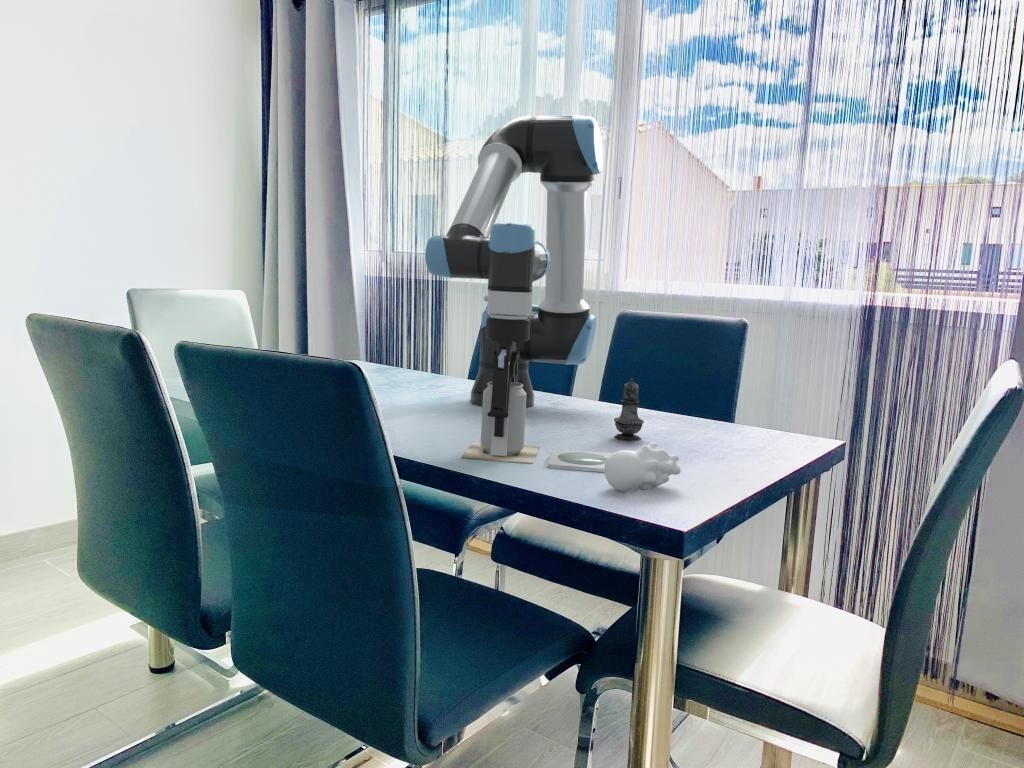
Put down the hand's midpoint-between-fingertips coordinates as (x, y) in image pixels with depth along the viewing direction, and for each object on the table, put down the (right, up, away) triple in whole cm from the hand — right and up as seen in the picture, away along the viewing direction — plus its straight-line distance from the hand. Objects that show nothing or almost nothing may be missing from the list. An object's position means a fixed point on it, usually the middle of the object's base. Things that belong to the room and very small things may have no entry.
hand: (502, 449), depth 130 cm
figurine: (+21, -5, -17) cm, 27 cm away
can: (0, -1, 0) cm, 1 cm away
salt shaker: (+24, 0, +17) cm, 30 cm away
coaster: (+14, -2, -4) cm, 14 cm away
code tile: (0, -1, 0) cm, 1 cm away
